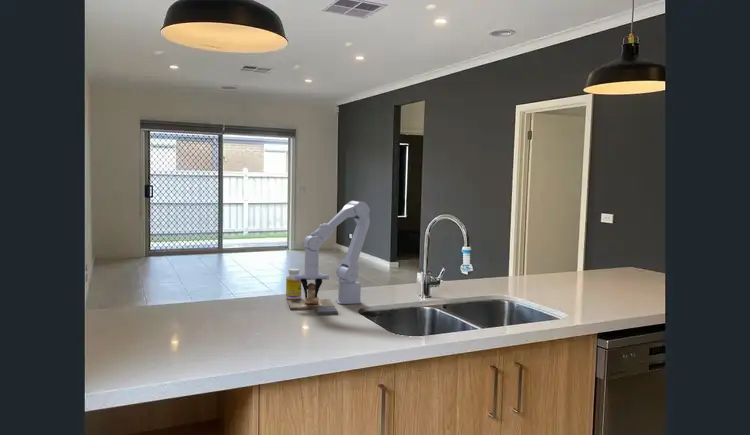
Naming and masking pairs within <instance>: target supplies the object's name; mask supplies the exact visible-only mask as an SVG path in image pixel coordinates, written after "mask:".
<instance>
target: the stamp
mask: <svg viewBox="0 0 750 435" xmlns="http://www.w3.org/2000/svg"><path fill="white" fill-rule="evenodd" d="M315 289H316V286H315V282H314V283H313V282H310V283H307V298H306V297H305V296H304V300H305V303H306V304H319V297H318V296H317V297H315Z"/></svg>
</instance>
